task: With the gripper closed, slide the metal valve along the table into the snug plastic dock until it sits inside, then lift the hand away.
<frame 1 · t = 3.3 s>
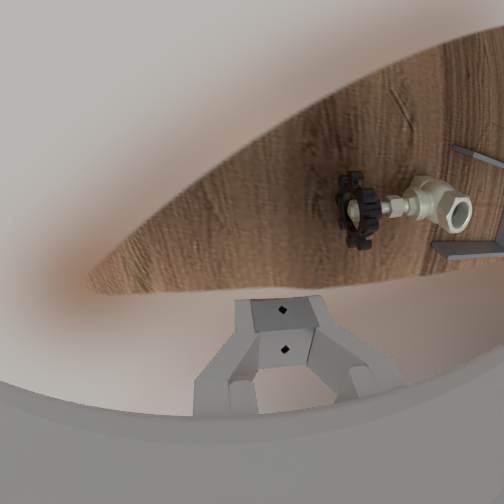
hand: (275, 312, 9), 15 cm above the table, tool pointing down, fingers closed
valve dock: (479, 202, 25), on the table
valve: (389, 192, 24), on the table
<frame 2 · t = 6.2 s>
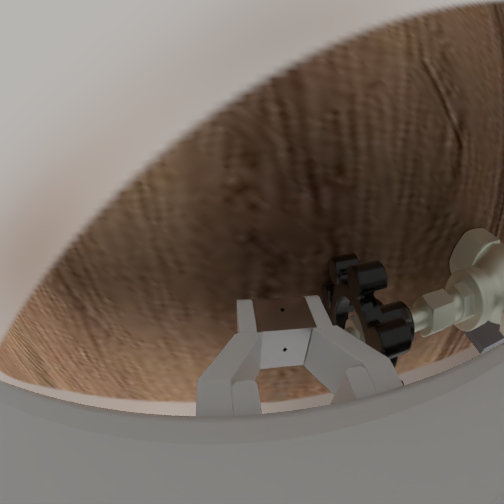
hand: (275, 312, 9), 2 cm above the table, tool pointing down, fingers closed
valve: (421, 264, 13), on the table, touching gripper
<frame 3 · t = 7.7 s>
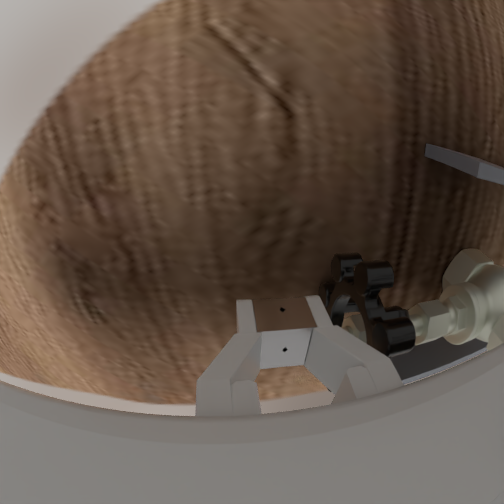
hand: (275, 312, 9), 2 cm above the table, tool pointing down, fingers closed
valve dock: (481, 257, 13), on the table
valve: (416, 275, 13), on the table, touching gripper
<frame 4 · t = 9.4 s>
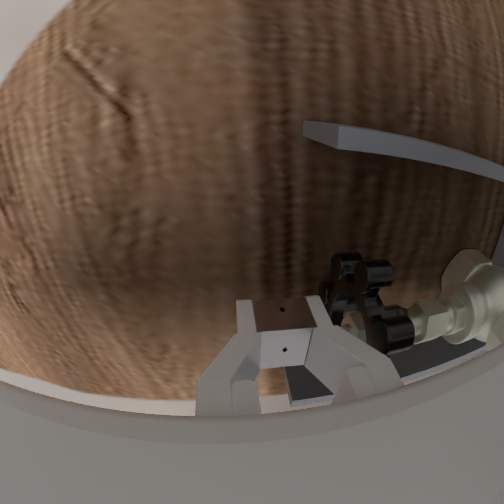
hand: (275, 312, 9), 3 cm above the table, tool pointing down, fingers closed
valve dock: (424, 260, 12), on the table
valve: (415, 275, 13), on the table, touching gripper
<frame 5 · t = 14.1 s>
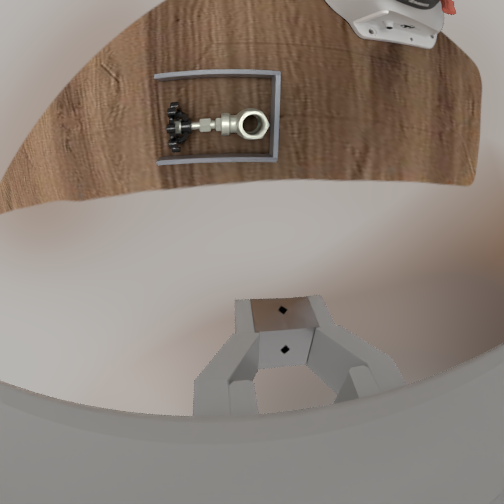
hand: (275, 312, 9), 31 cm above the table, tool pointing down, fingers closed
valve dock: (214, 115, 33), on the table
valve: (219, 123, 34), on the table
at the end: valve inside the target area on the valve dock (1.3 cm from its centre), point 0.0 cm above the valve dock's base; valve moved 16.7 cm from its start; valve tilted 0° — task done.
